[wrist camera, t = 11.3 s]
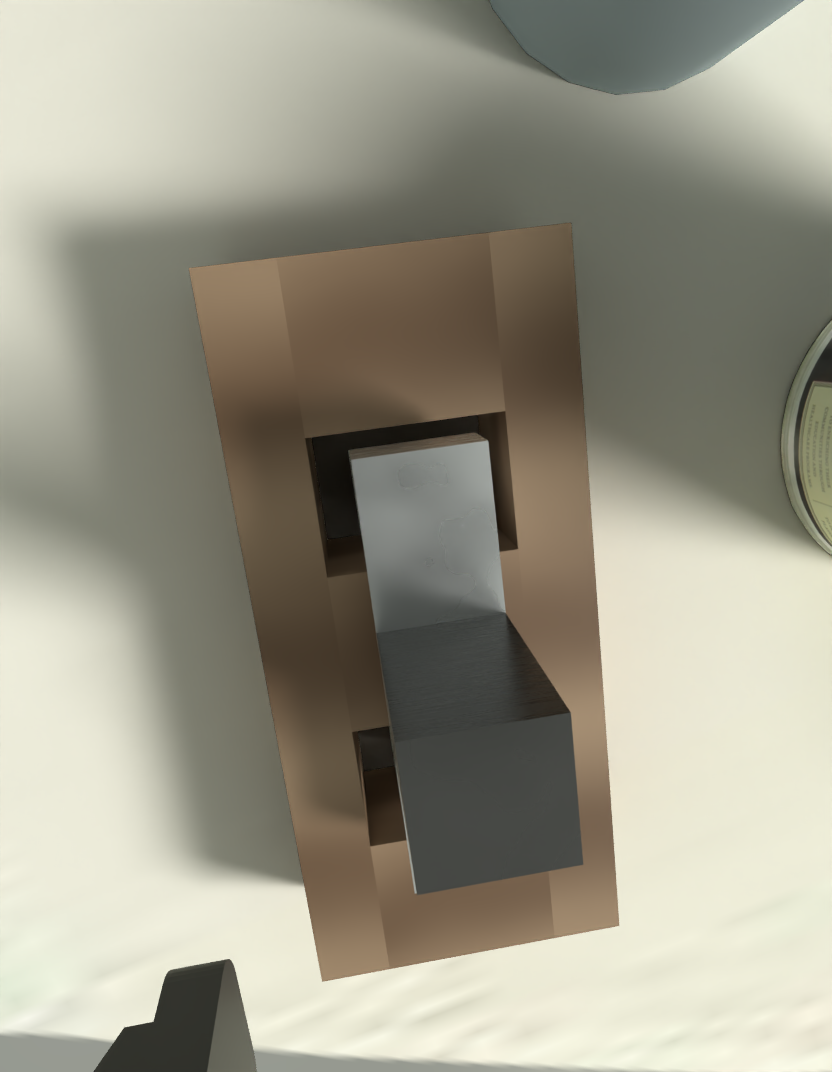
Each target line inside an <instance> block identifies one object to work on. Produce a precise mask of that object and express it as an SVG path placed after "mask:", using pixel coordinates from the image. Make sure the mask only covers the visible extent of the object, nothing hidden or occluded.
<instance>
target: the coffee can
mask: <svg viewBox="0 0 832 1072" xmlns="http://www.w3.org/2000/svg"><path fill="white" fill-rule="evenodd" d="M781 454H782V468H783V474H784V478H785V483H786V487H787V491H788V494H789V498H790V501H791V504H792V506H793V508H794V510H795V512H796V514H797V515H798V517H799V519H800V520H801V522H802V523H803V525H804V526H805V528H806V529H807V531H808V532H809V533H810V535H811V536H812V537H813V538H814V539H815V541H816V542H817V543H818V544H819V545H821V546H822V547H823V548H824V549H825V550H826V551H827V552H828V553H829V554H831V555H832V320H831V321H830V323H829V324H828V325H827V326H826V327H825V328H824V330H823V331H822V332H821V333H820V335H819V336H818V337H817V339H816V340H815V342H814V344H813V345H812V347H811V348H810V350H809V351H808V353H807V355H806V356H805V358H804V360H803V362H802V364H801V366H800V368H799V370H798V372H797V375H796V377H795V379H794V381H793V384H792V387H791V389H790V392H789V395H788V399H787V403H786V408H785V413H784V418H783V425H782V435H781Z"/></svg>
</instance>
